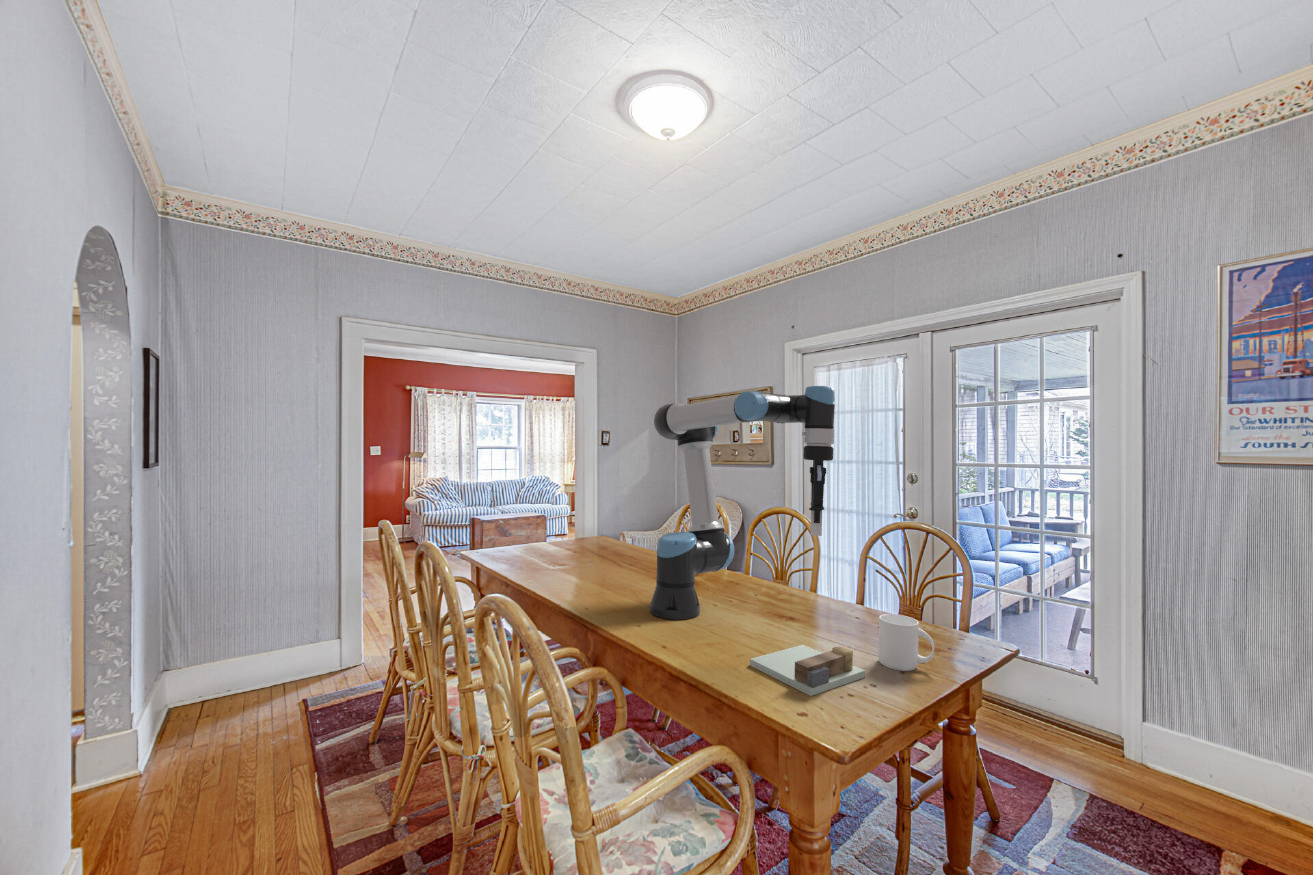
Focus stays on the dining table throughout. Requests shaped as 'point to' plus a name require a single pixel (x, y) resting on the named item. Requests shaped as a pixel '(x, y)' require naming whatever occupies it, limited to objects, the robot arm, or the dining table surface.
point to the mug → (900, 642)
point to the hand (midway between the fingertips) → (816, 535)
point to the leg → (825, 663)
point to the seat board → (784, 669)
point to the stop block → (818, 677)
